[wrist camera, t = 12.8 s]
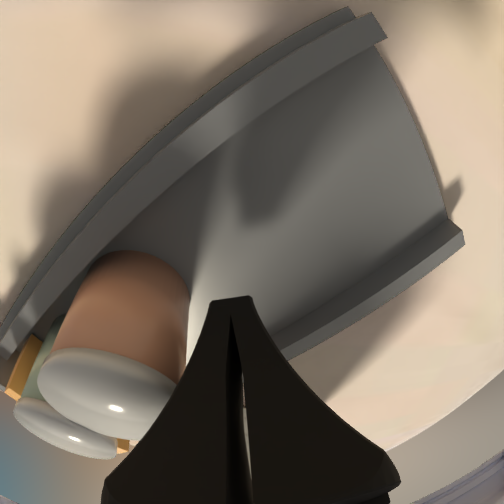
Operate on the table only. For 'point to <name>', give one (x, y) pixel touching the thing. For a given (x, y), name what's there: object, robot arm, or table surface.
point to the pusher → (23, 371)
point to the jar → (119, 346)
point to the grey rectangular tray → (269, 197)
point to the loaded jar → (51, 421)
